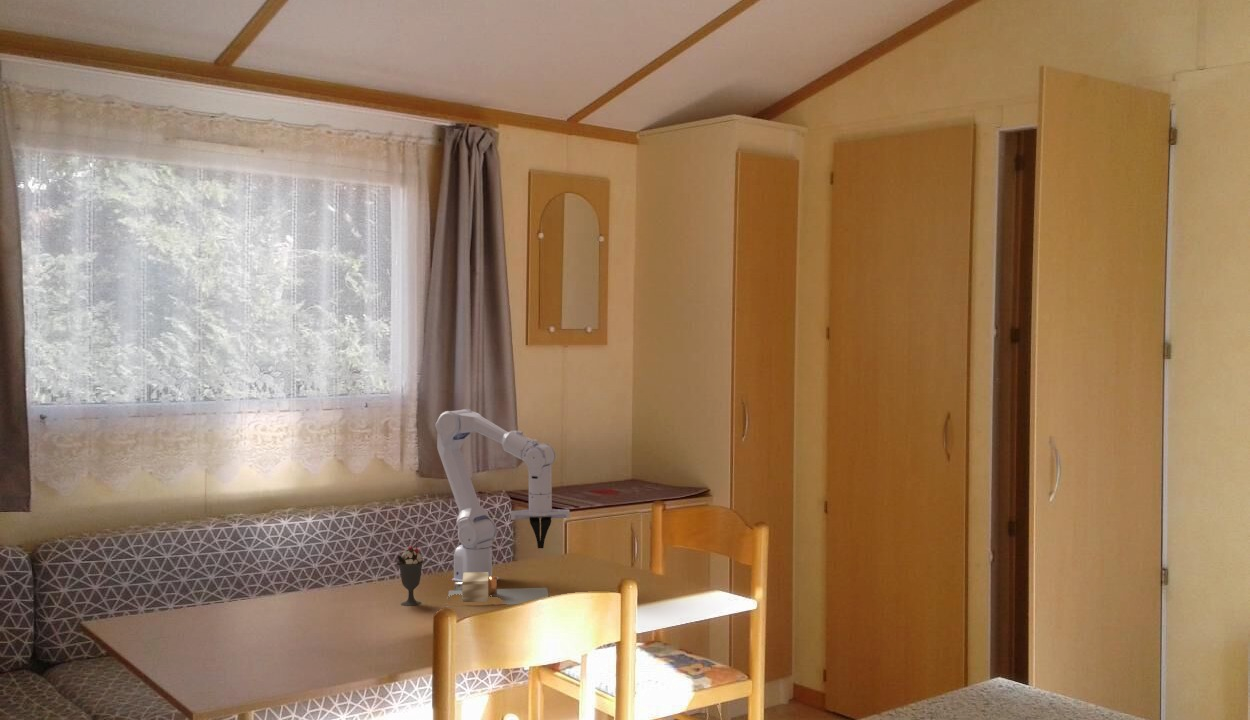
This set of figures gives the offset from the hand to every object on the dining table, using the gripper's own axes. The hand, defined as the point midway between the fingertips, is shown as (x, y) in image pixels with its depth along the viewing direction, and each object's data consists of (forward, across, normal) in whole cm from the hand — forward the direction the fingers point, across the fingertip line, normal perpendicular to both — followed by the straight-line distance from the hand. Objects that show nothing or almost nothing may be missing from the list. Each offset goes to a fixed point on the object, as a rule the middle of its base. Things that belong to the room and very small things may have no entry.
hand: (540, 547), depth 280 cm
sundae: (+10, -31, -13) cm, 35 cm away
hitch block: (+10, -16, -10) cm, 21 cm away
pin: (+9, -16, -10) cm, 21 cm away
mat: (+10, -10, -9) cm, 17 cm away
